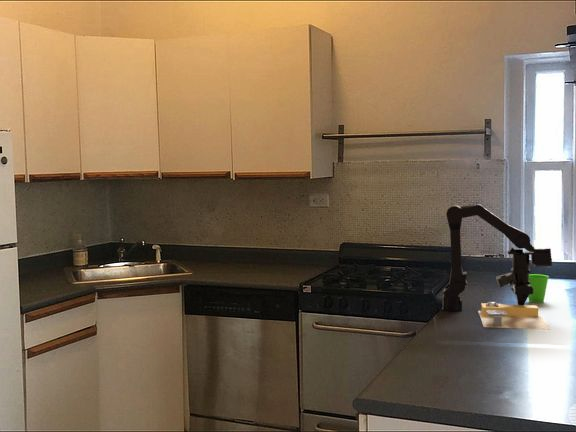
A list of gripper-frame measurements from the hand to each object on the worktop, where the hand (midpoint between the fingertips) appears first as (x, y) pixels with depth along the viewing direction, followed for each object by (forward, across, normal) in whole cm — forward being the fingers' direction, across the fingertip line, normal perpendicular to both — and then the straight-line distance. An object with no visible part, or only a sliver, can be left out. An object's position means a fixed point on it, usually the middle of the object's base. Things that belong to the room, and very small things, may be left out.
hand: (520, 309), depth 252 cm
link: (+1, +3, -4) cm, 6 cm away
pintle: (+1, +3, -10) cm, 11 cm away
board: (+2, +12, -4) cm, 13 cm away
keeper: (+1, +19, -10) cm, 22 cm away
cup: (+2, -21, +9) cm, 23 cm away
